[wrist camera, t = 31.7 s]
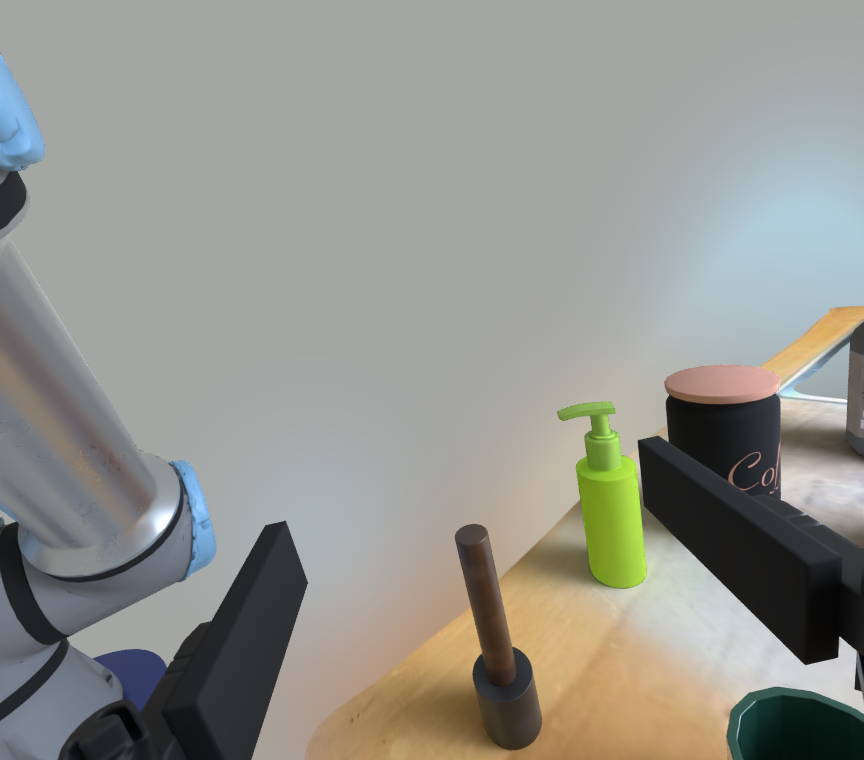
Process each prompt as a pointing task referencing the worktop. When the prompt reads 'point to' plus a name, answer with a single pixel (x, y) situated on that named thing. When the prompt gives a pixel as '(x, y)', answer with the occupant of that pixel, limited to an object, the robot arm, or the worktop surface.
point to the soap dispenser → (609, 501)
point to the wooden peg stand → (497, 650)
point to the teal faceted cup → (794, 727)
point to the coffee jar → (729, 423)
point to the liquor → (856, 392)
